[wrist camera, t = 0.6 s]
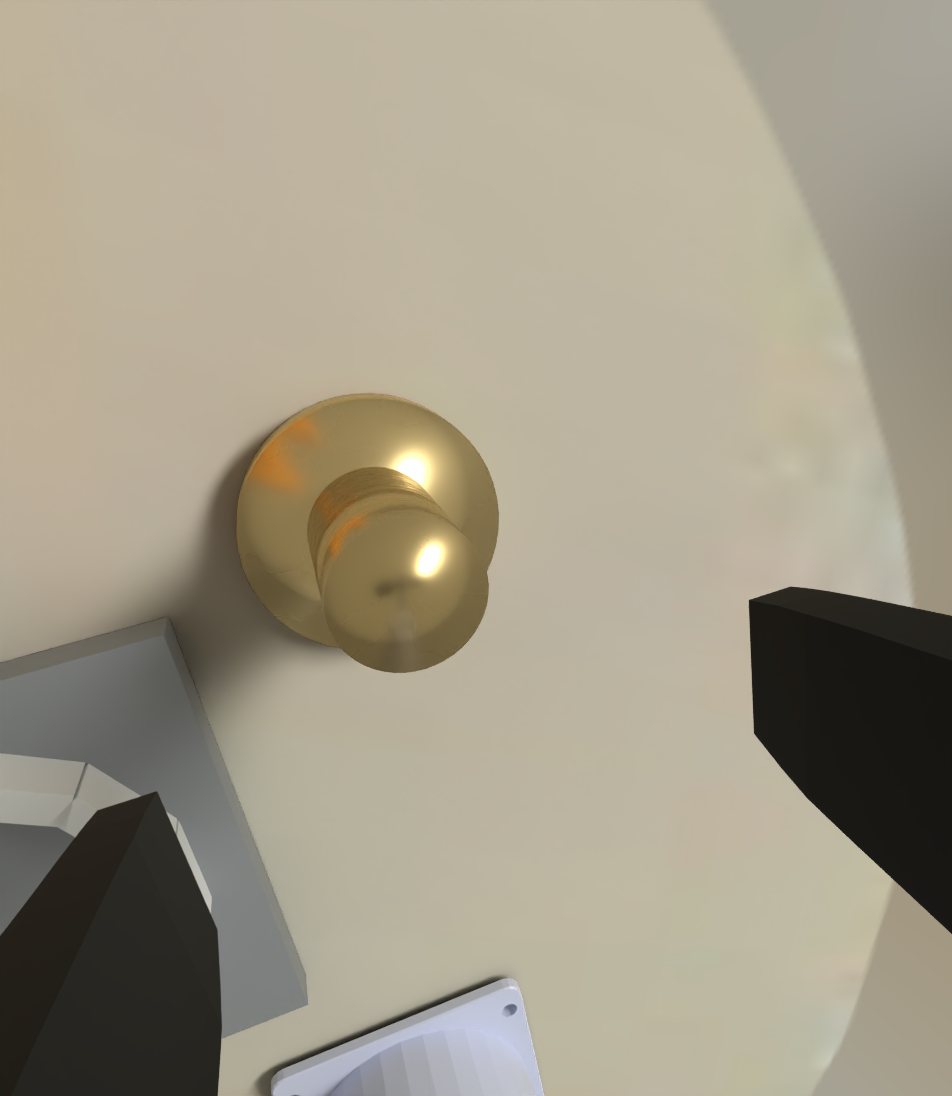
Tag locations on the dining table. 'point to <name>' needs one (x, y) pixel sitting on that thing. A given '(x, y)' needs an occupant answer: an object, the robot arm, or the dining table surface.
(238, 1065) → the dining table surface
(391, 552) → the brass cabinet knob
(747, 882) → the dining table surface
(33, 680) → the carrier plate
